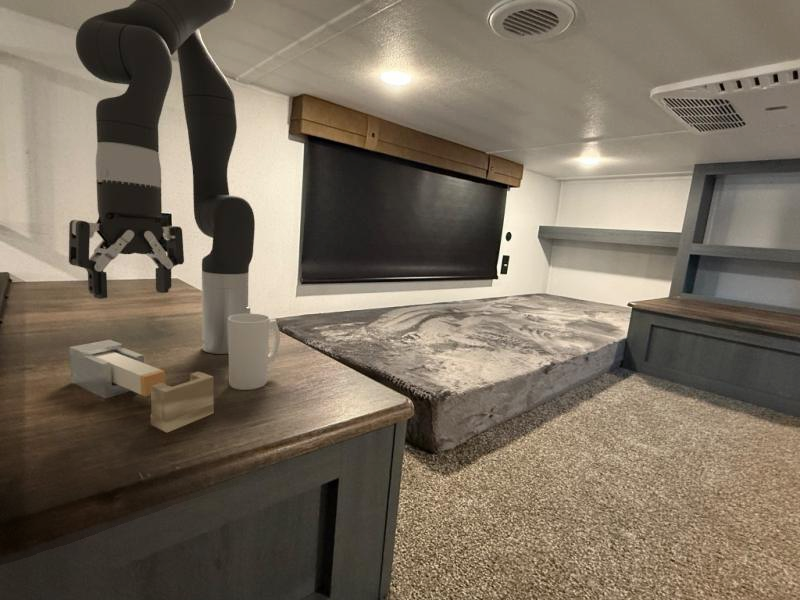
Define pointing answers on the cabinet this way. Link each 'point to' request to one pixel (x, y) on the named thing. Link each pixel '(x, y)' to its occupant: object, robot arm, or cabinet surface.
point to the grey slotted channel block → (98, 367)
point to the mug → (250, 349)
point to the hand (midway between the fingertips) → (133, 294)
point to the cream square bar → (132, 372)
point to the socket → (182, 402)
